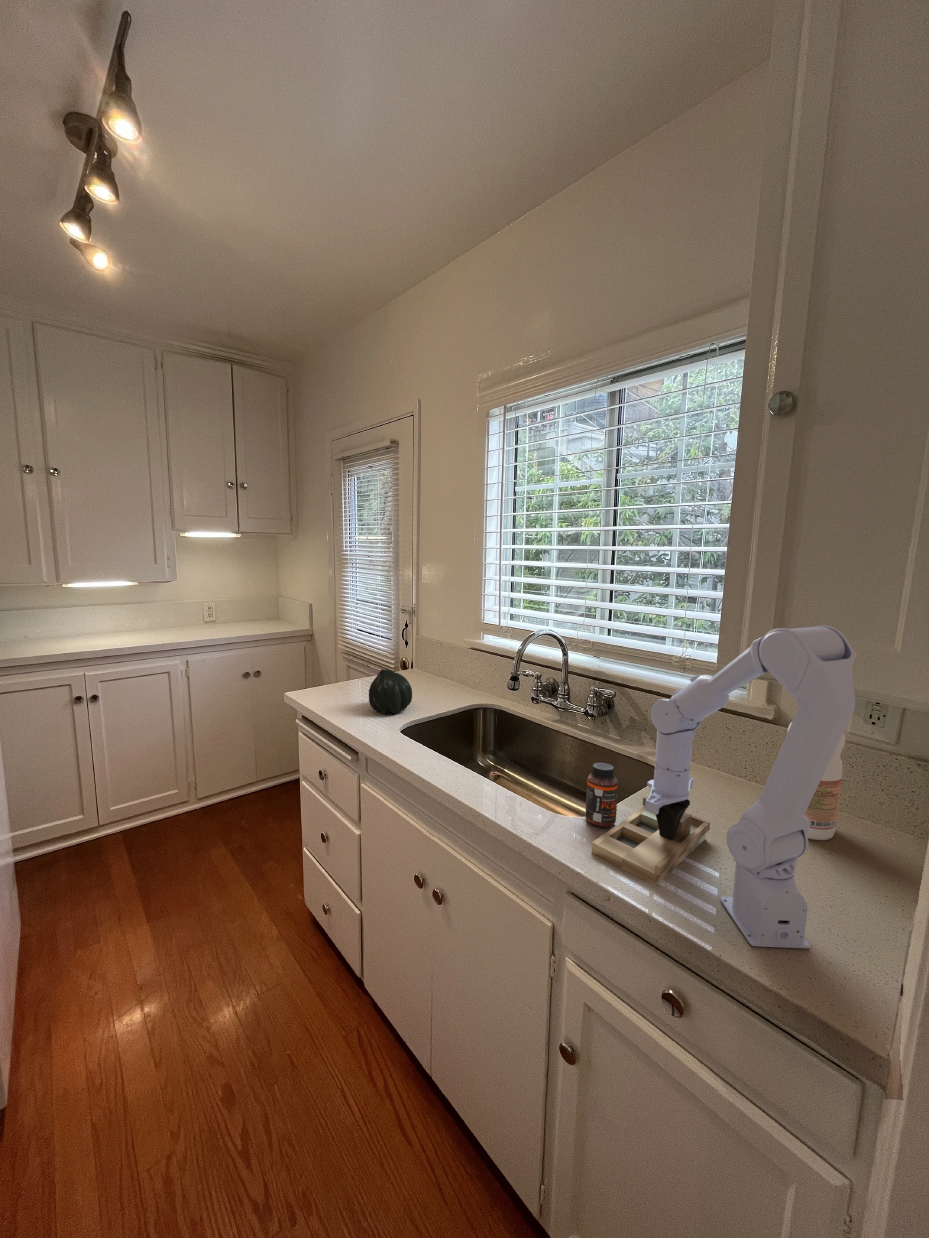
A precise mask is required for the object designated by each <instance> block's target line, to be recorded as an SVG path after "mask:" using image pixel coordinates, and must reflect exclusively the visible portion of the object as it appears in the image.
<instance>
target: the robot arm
mask: <svg viewBox="0 0 929 1238" xmlns="http://www.w3.org/2000/svg"><path fill="white" fill-rule="evenodd" d="M856 657H857V653H856V651H855V650H854V649H853V647H852V645H851V644H850V642H849V640H848V639H847V637H846V636H845V635H844V634H843V633H842V632H841V631H840V630H839V629H838V628H835V627H833V626H830V625H825V624H823V625H822V624H821V625H813V626H812V627H811V626H809V627H798V628H784V627H783V628H775V629H772V630H769V631H768V632H766V634H765V635H764V636H763V637H759V638H757V639H755V640H753V641H752V643H751V644H750V646H749V647H748V648H746V649H745V650H744V651H743V652H742V653H741V654H739V655H738V656H737V657H735V658H734V659H733V660H732V661H730V662H729V663H728V664H727V665H726V666H724V667H723V668H722V669H721V670H719V671H718V672H717V673H716V674H714V675H709V674H700V675H699V674H698V675H693V676H692V677H690V678H689V681H690V683H689V684H687V685H686V686H685V687H683V688H681V689H677V690H674V691H673V692H672V696H671V697H670V698H668V699H666V698H660V699H656V701H655V702H654V703H653V705H652V706H651V710H650V717H651V721H652V724H653V726H654V727H655V728H656V730H657V731H656V742H655V743H656V745H655V760H654V774H653V779H650V780H649V781H647V783H646V784H647V785H646V786H647V787H649V788H650V792H649V795H648V796H647V798H648V799H646V804H645V811H648V812H650V813H653V814H655V815H656V818H657V822H658V827H659V832H660V836H662V837H664V838H666V839H668V840H672V839H673V838H674V837H675V835H676V832H677V829H678V826H679V823H680V820H681V818H682V816H683V814H684V812H686V810H688V808H689V806H690V805H691V800H689V797H690V792H691V789H693V788H694V787H693V786H694V778H693V777H691V776H690V774H691V761H692V749H693V740H694V739H695V738H696V733H697V732H696V731H697V730H698V729H699V728H700V727H701V726H702V722H703V720H705V719H707V718H708V717H709V716H711V715H712V714H714V713H716V712H717V711H719V710H720V709H722V708H724V707H725V706H727V704H728V703H729V700H730V696H729V694H730V693H732V692H734V691H736V690H738V689H740V688H741V687H744V686H745V685H747V684H748V683H750V682H752V681H754V680H756V679H757V678H759V677H761V676H763V675H764V674H766V673H769V674H770V675H771V676H772V677H773V678H774V679H775V680H776V681H777V682H778V683H779V684H780V685H781V687H783V688H784V689H785V691H787V693H788V694H790V696H791V697H793V698H794V699H795V701H796V704H797V705H798V707H797V709H796V712H795V714H794V717H793V719H792V721H791V722H792V724H791V726H790V728H789V731H788V730H787V732H788V733H786V735H785V738H784V740H783V743H782V744H781V747H780V750H779V752H778V754H777V757H776V759H775V761H774V763H773V766H772V769H771V770H770V773H769V775H768V777H767V779H766V782H765V784H764V787H763V789H762V791H761V794H760V795H759V799H758V800H756V802H754V803H753V804H752V805H751V806H750V807H748V808H747V809H746V810H745V811H744V812H743V813H742V815H741V816H740V819H739V820H738V822H736V823H735V824H732V825H731V826H730V827H729V828H728V830H727V832H726V844H727V848H728V850H729V852H730V855H731V856H732V858H733V861H734V862H735V868H734V869H735V870H734V880H733V889H732V896H724V895H723V896H720V897H719V901H720V902H721V903H722V906H723V907H724V908H725V910H726V911H727V912H728V914H729V915H730V916H731V919H732V920H733V921H734V922H735V924H736V926H737V927H738V928H739V930H740V931H741V933H742V934H743V936H744V938H745V939H746V940H747V942H748V943H749V944H750V945H751V946H752V947H762V948H763V947H764V948H767V947H768V948H769V947H770V948H783V949H785V948H789V949H810V947H811V946H810V943H809V942H808V941H807V939H806V938H805V931H806V924H807V923H806V921H807V916H808V915H807V914H808V906H807V901H806V899H805V898H804V897H803V895H802V894H801V892H800V891H799V888H798V887H797V884H796V880H795V868H796V866H797V859H798V858H800V857H802V856H804V855H805V854H806V853H807V851H808V849H809V839H808V829H809V827H810V825H811V822H810V821H809V819H808V818H807V817H806V816H805V812H806V810H807V808H808V806H809V804H810V801H811V799H812V797H813V795H814V793H815V791H816V789H817V787H818V785H819V783H820V781H821V779H822V776H823V774H824V772H825V770H826V768H827V766H828V764H829V762H830V760H831V758H832V756H833V753H834V751H835V749H836V747H837V745H838V743H839V741H840V739H841V737H842V735H843V733H844V732H845V730H846V728H847V726H848V724H849V723H850V720H851V717H852V716H853V713H854V712H855V707H856V695H855V688H854V677H853V668H852V666H853V663H854V661H855V660H856ZM844 734H845V733H844Z"/></svg>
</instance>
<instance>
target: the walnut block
mask: <svg viewBox="0 0 929 1238" xmlns="http://www.w3.org/2000/svg"><path fill="white" fill-rule="evenodd" d="M692 815H693V814H690V813H688V812H686V811H685V812H684V814H683V816H682V818H681V820H680V823H679V826H678V829H677V832H676V835H675V837H674V838H673V839H672V840H674V841H676V842H678V843H681V842H682V841H683V840H684V839H686V838H687V837H688V836H689V835H690V830H691V817H692ZM659 834H660V832H659Z"/></svg>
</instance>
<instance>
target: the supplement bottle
mask: <svg viewBox="0 0 929 1238" xmlns="http://www.w3.org/2000/svg"><path fill="white" fill-rule="evenodd" d="M614 771H615V770H614V766H613V765H612V764H609V763H605V762H604V763H603V762H595V763H593V765H592V772H591V773H589V774H588V776H587V780H586V796H585V797H586V798H585V799H586V801H585V802H586V803H585V819H586V821H587V822H589V823H590V824H592V825H594V826H597V827H600V828H601V827H602V828H604V827H605V828H608V827H611V826H614V825H615V824H616V821H617V820H616V819H617V811H618V810H617V807H618V790H619V785H618V784H619V781H618V778H617V777H615V775H614Z"/></svg>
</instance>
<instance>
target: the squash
mask: <svg viewBox="0 0 929 1238" xmlns="http://www.w3.org/2000/svg"><path fill="white" fill-rule="evenodd" d="M412 699H413V689H412V686H411V683H410V681H408V679H407V678H406V677H405V676H404V675H402V674H400V673H399V672H396V671H392V670H390V669H383V668H382V669H380V671H379V672H378V673H377V675H376V677H375V678H374V679H373V680H372V681H371V684H370V686H369V689H368V702H369V705H370V707H371V708H372V710H374V711H375V710H376V712H378V711H381V712H380V713H382V714H384V713H388V712H390V714H392V713H396V714H398V713H399V712H400V711H404V710H406V709H407V708H408V706H409V705H410V704H411V703H412ZM388 714H389V713H388Z"/></svg>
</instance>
